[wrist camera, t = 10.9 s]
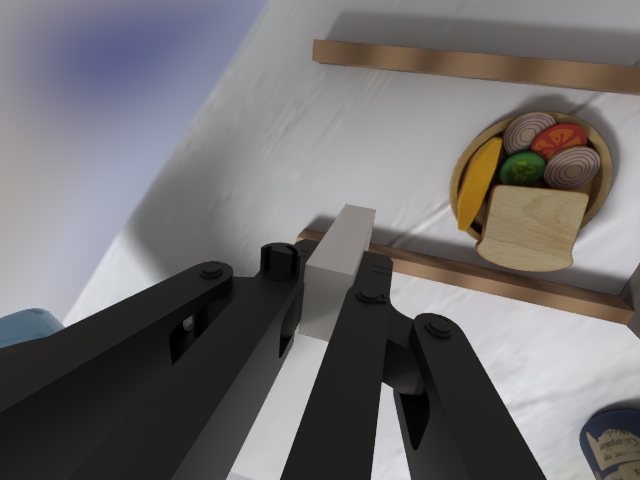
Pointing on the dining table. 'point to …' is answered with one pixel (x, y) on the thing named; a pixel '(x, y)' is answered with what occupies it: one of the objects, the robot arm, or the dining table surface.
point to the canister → (613, 445)
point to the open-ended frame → (636, 298)
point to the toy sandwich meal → (531, 189)
